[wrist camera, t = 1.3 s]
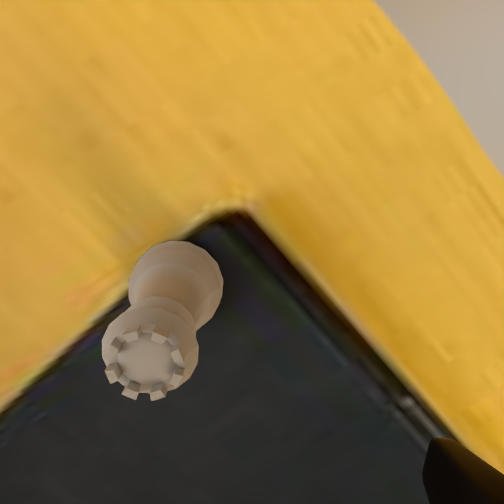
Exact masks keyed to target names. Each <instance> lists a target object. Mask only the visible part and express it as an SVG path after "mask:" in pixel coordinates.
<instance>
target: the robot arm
mask: <svg viewBox="0 0 504 504" xmlns="http://www.w3.org/2000/svg"><path fill="white" fill-rule="evenodd" d="M423 483H424V486H425V490H426V493H427V496H428V499H429V503H430V504H504V475H503V474H502V473H501V472H499V471H498V470H496V469H495V468H493V467H492V466H491V465H489V464H488V463H486V462H485V461H483V460H482V459H481V458H479V457H478V456H476V455H475V454H474V453H472V452H471V451H469V450H468V449H466V448H465V447H464V446H462V445H461V444H459V443H458V442H456V441H455V440H453V439H446V438H434V439H432V440H431V441H430V444H429V447H428V451H427V455H426V459H425V463H424V467H423Z"/></svg>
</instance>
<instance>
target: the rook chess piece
mask: <svg viewBox="0 0 504 504" xmlns="http://www.w3.org/2000/svg"><path fill="white" fill-rule="evenodd" d="M222 290H223V278H222V275H221V272H220V269H219V266H218V264H217V262H216V261H215V260H214V259H213V258H212V257H211V256H210V255H209V254H208V252H207V251H206V250H204V249H202V248H200V247H198V246H196V245H194V244H192V243H190V242H183V241H167V242H164V243H161V244H157V245H154V246H152V247H151V248H150V249H149V250H147V251H146V252H145V253H144V254H143V255H142V256H140V257H139V259H138V261H137V263H136V265H135V267H134V270H133V272H132V274H131V276H130V278H129V301H130V303H131V307H129V308H128V309H127V310H126V312H123V313H122V314H121V315H120V316H119V317H117V318H116V319H115V320H114V321H113V322H111V323H110V324H109V326H108V328H107V330H106V332H105V335H104V337H103V339H102V358H103V360H104V362H105V364H106V366H107V368H106V370H105V373H106V375H107V377H108V379H109V382H110V384H112V383H114V382H116V381H119V382H120V383H121V384H122V385H123V386H125V388H124V390H123V392H122V395H125V396H127V397H129V398H132V399H134V400H136V399H137V396H138V393H139V392H140V393H150V398H151V401H153V400H157V399H160V398H163V397H166V393H167V391H169V390H173V389H176V388H177V387H179V386H180V385H181V384H182V383H184V382H185V381H186V380H187V379H189V378H190V376H191V374H192V373H193V371H194V369H195V367H196V365H197V363H198V349H199V346H198V343H197V341H196V330H198V329H199V328H200V327H201V326H203V325H204V324H205V323H206V322H208V321H209V320H210V319H211V318H212V317H213V315H214V313H215V311H216V309H217V307H218V305H219V304H220V299H221V297H222Z"/></svg>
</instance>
